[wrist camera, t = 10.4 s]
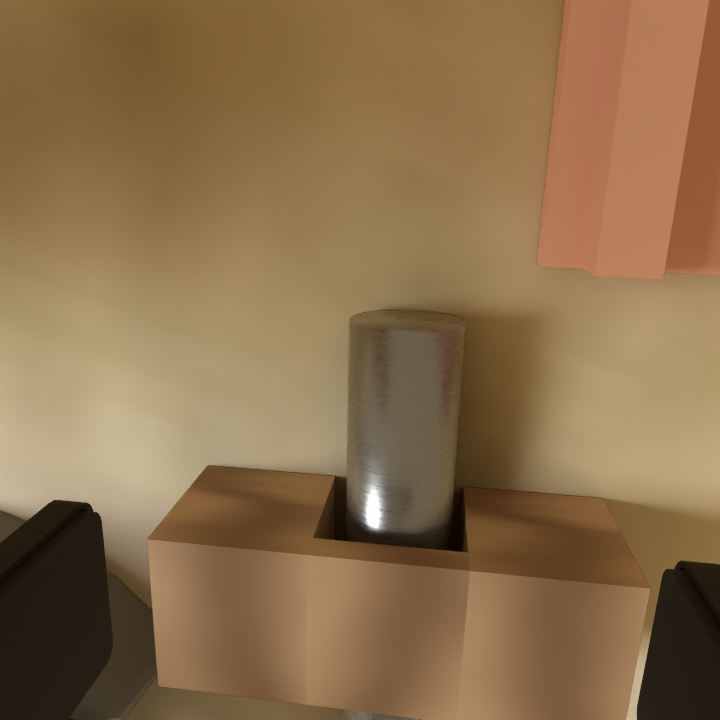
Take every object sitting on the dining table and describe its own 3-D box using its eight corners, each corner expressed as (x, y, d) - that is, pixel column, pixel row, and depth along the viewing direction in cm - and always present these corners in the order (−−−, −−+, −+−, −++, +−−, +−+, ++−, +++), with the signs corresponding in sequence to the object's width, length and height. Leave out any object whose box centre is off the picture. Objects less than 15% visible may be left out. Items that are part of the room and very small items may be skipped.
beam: (213, 588, 27) (158, 686, 22) (207, 465, 26) (146, 539, 20) (583, 627, 26) (621, 744, 20) (603, 498, 24) (650, 588, 19)
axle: (430, 733, 29) (436, 818, 25) (345, 727, 29) (338, 811, 25) (459, 311, 23) (472, 336, 19) (353, 307, 23) (345, 332, 19)
